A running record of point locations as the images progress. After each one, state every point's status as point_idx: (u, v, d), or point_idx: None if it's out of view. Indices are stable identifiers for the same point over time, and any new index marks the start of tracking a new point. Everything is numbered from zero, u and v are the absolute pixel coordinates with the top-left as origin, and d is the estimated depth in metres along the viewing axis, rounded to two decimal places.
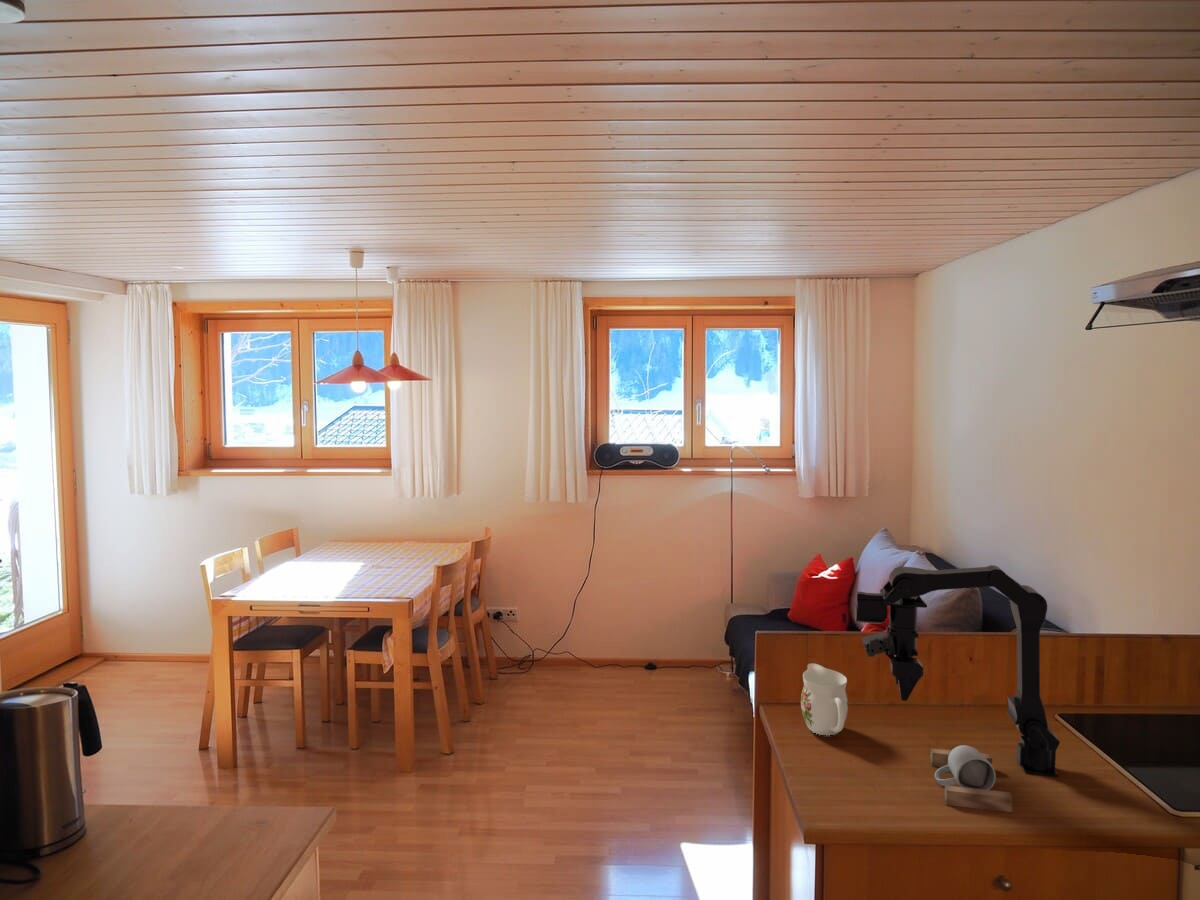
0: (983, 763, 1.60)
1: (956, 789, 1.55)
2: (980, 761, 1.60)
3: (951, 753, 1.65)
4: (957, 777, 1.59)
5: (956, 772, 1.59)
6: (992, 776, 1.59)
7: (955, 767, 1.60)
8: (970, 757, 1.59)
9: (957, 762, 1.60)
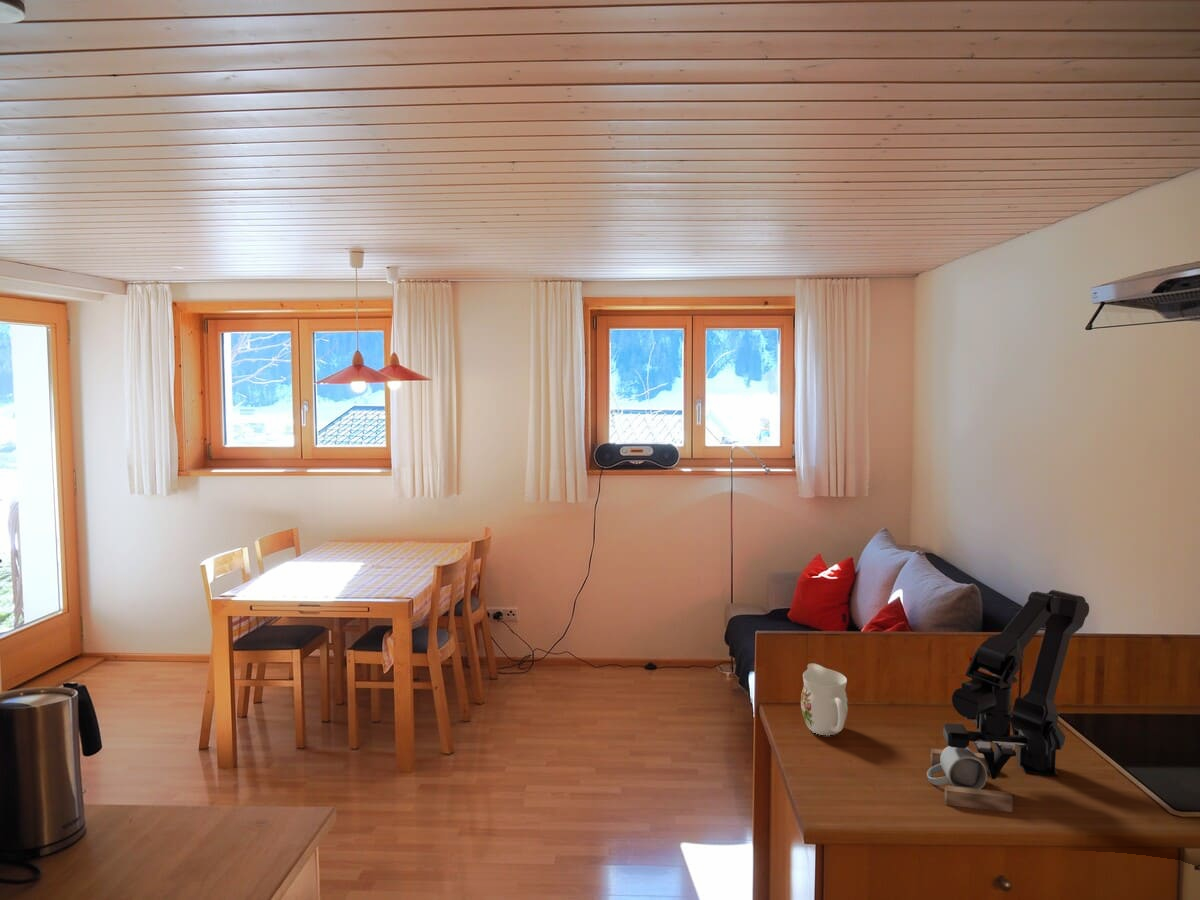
0: (975, 762, 1.60)
1: (956, 789, 1.55)
2: (972, 760, 1.60)
3: (943, 752, 1.65)
4: (949, 776, 1.59)
5: (948, 771, 1.59)
6: (984, 775, 1.59)
7: (947, 766, 1.60)
8: (962, 756, 1.59)
9: (949, 761, 1.61)
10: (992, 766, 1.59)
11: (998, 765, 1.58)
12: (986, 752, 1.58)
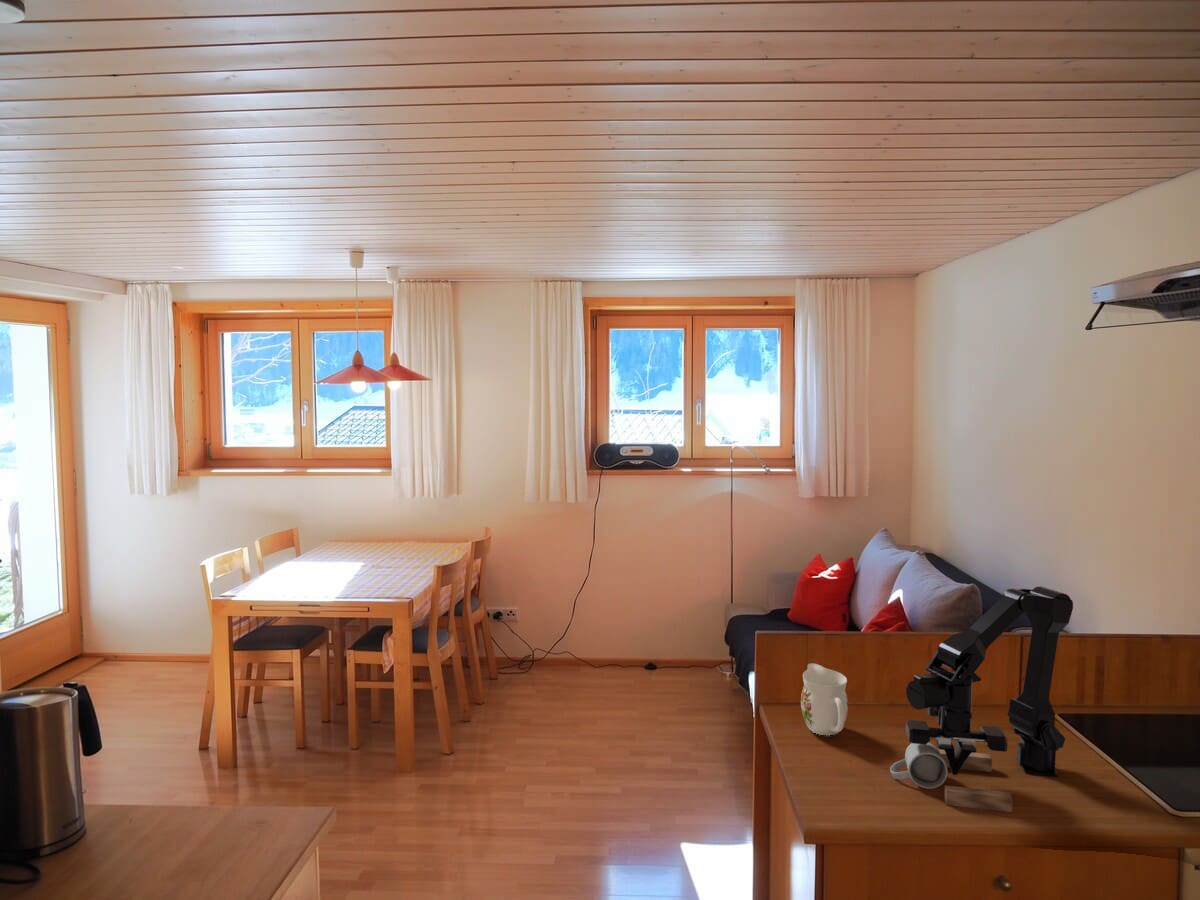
0: (936, 758, 1.62)
1: (956, 789, 1.55)
2: (933, 756, 1.62)
3: (908, 748, 1.67)
4: (909, 771, 1.61)
5: (908, 766, 1.62)
6: (944, 771, 1.61)
7: (908, 761, 1.63)
8: (922, 752, 1.61)
9: (910, 756, 1.63)
10: (953, 762, 1.61)
11: (959, 761, 1.60)
12: (946, 748, 1.59)
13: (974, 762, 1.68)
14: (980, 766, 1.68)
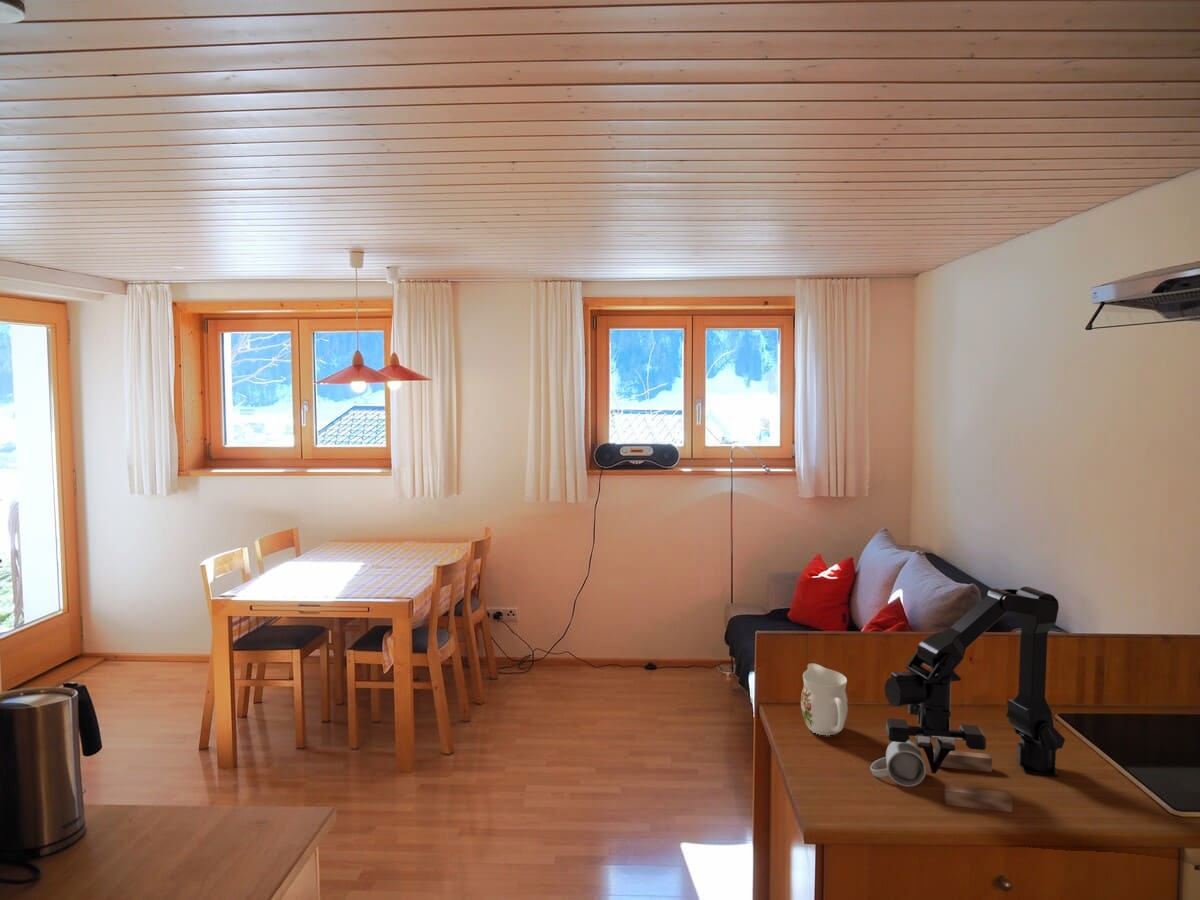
0: (915, 757, 1.63)
1: (956, 789, 1.55)
2: (912, 754, 1.63)
3: (888, 746, 1.68)
4: (887, 768, 1.63)
5: (887, 763, 1.63)
6: (923, 770, 1.62)
7: (887, 759, 1.64)
8: (901, 750, 1.62)
9: (889, 754, 1.64)
10: (932, 760, 1.62)
11: (938, 759, 1.61)
12: (925, 746, 1.60)
13: (974, 762, 1.68)
14: (980, 766, 1.68)
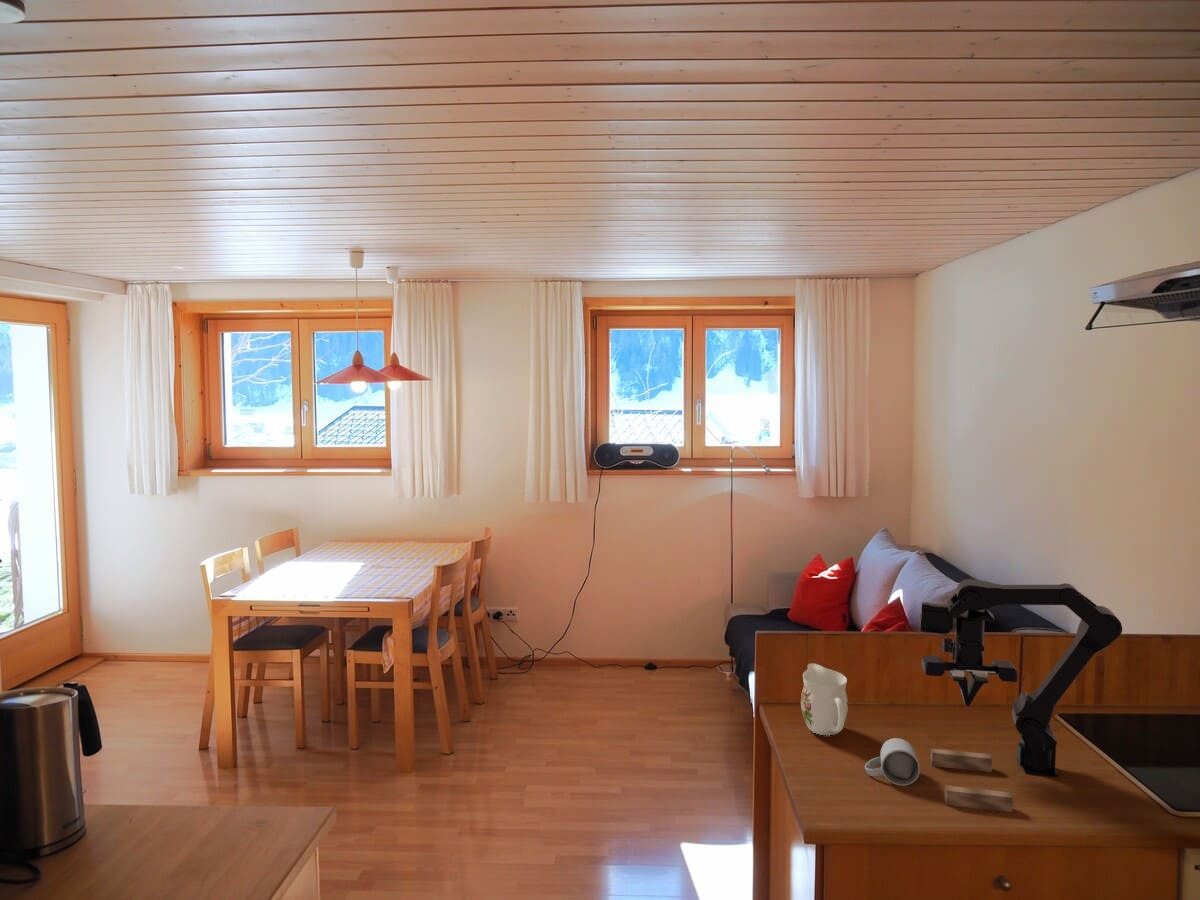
0: (909, 756, 1.63)
1: (956, 789, 1.55)
2: (906, 754, 1.63)
3: (883, 745, 1.69)
4: (882, 767, 1.63)
5: (881, 763, 1.63)
6: (917, 769, 1.62)
7: (881, 758, 1.64)
8: (895, 749, 1.62)
9: (884, 753, 1.64)
10: (966, 693, 1.71)
11: (972, 692, 1.71)
12: (960, 680, 1.70)
13: (974, 762, 1.68)
14: (980, 766, 1.68)
